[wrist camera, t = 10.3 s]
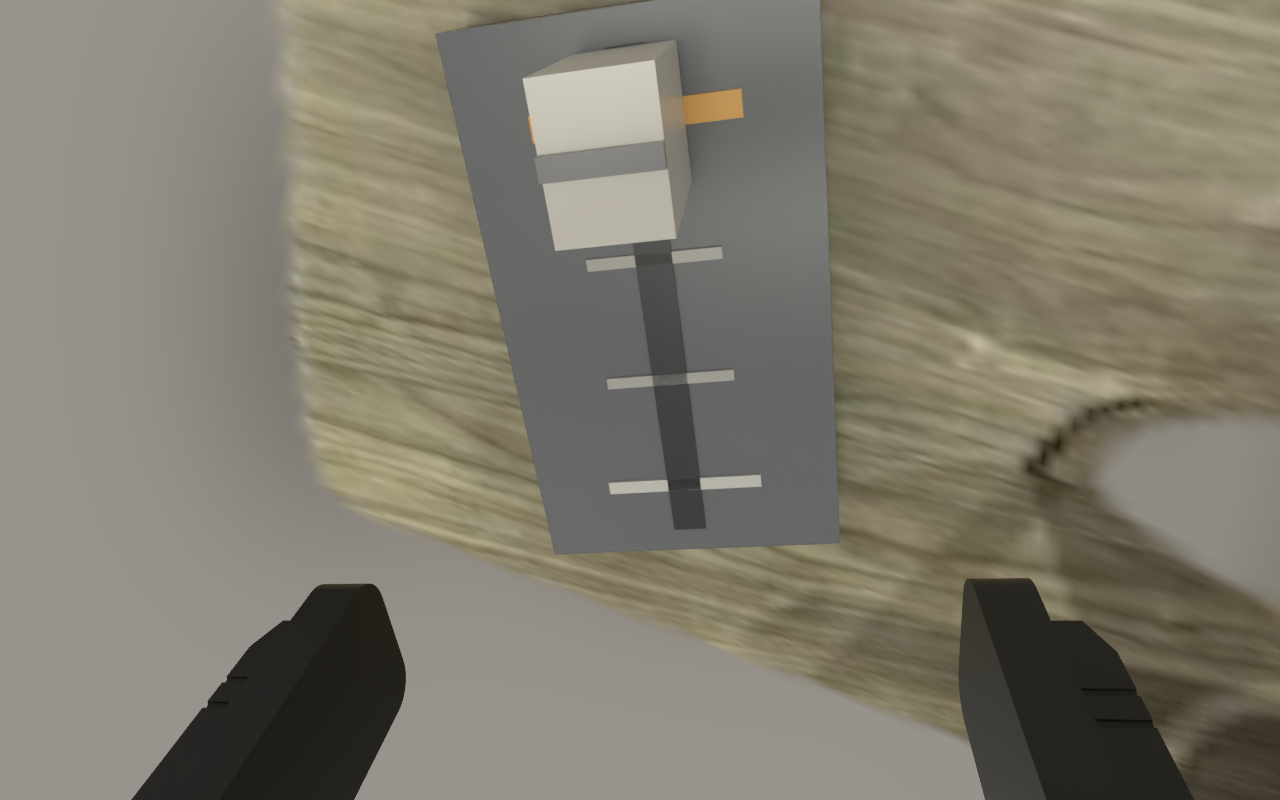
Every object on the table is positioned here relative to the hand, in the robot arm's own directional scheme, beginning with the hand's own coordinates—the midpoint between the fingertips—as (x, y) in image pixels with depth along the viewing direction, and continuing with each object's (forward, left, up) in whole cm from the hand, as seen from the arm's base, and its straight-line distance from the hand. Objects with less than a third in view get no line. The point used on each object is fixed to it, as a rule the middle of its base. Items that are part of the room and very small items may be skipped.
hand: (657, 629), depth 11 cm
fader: (+2, -4, -17) cm, 17 cm away
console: (+2, +2, -20) cm, 20 cm away
